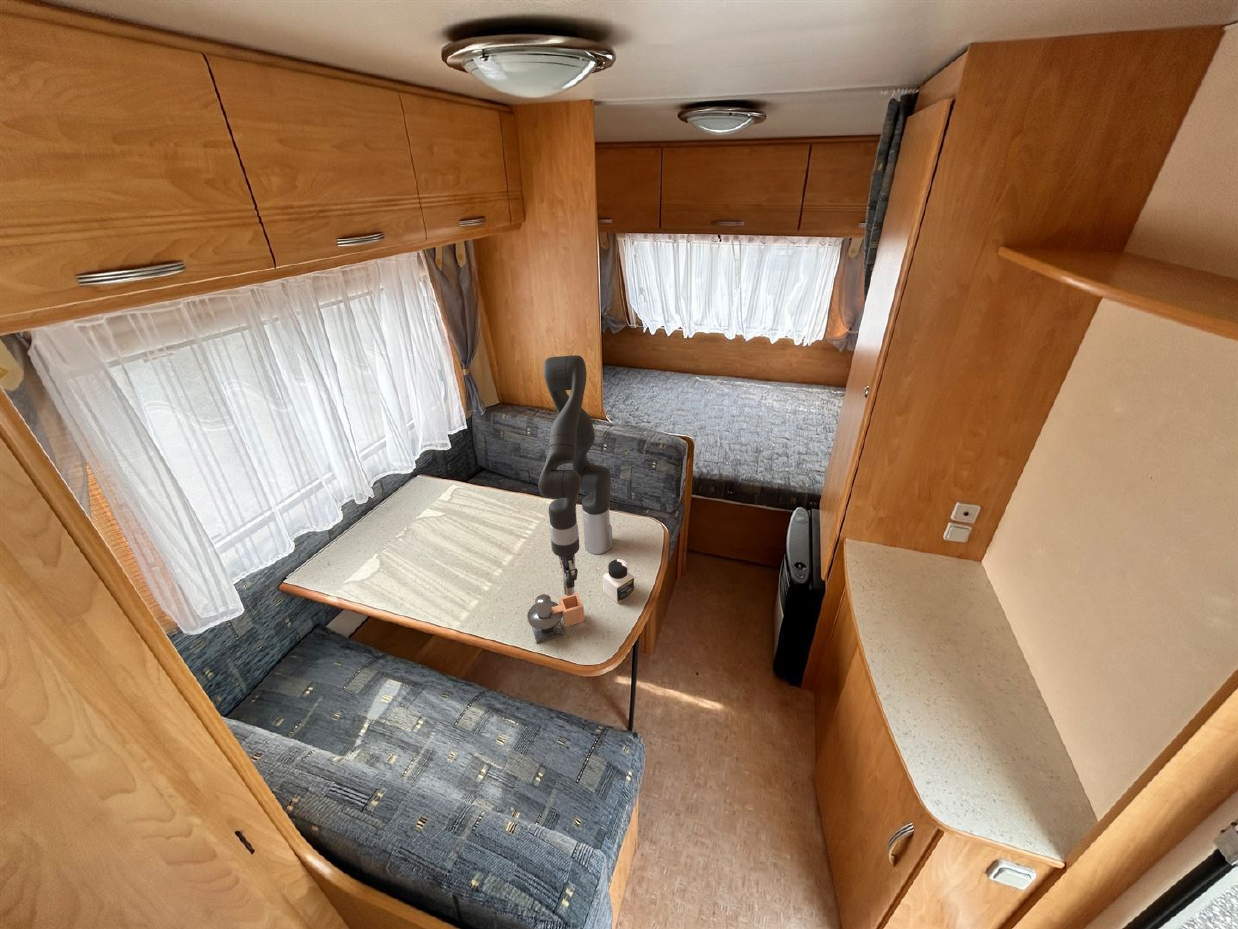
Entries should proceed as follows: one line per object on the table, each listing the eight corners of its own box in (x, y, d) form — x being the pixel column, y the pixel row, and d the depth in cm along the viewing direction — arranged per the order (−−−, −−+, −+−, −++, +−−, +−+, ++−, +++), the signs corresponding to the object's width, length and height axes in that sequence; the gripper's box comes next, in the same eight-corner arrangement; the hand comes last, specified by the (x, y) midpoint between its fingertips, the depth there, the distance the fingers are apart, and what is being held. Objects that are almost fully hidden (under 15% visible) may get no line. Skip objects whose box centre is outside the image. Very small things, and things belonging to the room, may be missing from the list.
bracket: (578, 607, 156) (577, 592, 153) (584, 621, 152) (583, 606, 149) (550, 615, 154) (548, 601, 151) (555, 629, 149) (553, 615, 146)
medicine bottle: (617, 604, 160) (616, 575, 154) (603, 592, 164) (601, 563, 158) (634, 593, 164) (634, 564, 157) (619, 581, 168) (619, 553, 162)
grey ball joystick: (558, 612, 157) (555, 583, 151) (567, 636, 149) (564, 607, 143) (526, 621, 154) (522, 592, 148) (533, 647, 146) (529, 617, 140)
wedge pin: (573, 587, 150) (570, 558, 144) (576, 594, 147) (573, 565, 141) (562, 589, 149) (559, 561, 143) (565, 597, 146) (562, 568, 140)
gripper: (585, 547, 133) (588, 596, 142) (570, 517, 144) (574, 563, 153) (557, 555, 130) (562, 603, 139) (544, 523, 142) (550, 570, 151)
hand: (568, 582), depth 146 cm, fingers closed on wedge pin, 3 cm apart
